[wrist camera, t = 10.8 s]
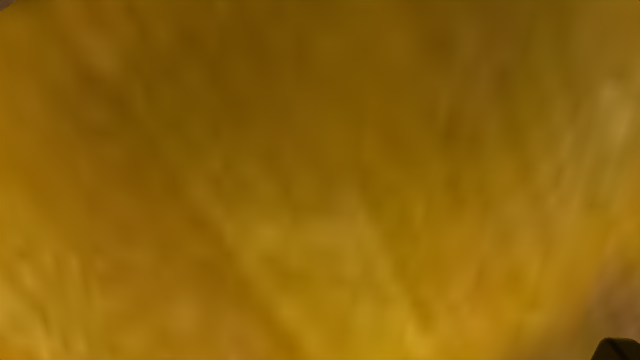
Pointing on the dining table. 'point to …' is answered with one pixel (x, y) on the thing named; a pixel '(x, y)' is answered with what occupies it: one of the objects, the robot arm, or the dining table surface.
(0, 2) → the walnut batten
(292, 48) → the dining table surface
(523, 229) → the dining table surface
